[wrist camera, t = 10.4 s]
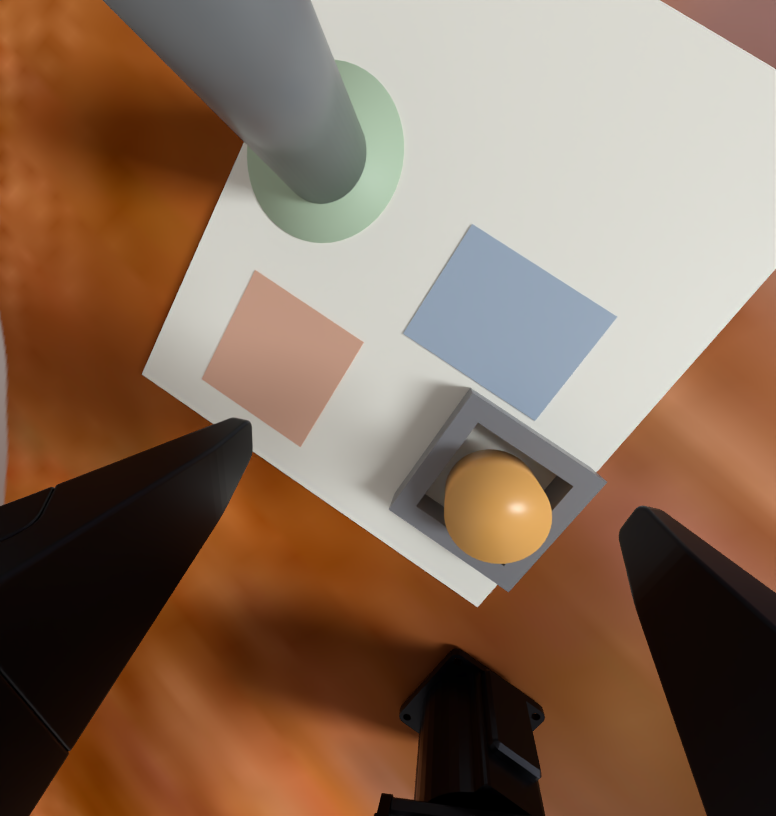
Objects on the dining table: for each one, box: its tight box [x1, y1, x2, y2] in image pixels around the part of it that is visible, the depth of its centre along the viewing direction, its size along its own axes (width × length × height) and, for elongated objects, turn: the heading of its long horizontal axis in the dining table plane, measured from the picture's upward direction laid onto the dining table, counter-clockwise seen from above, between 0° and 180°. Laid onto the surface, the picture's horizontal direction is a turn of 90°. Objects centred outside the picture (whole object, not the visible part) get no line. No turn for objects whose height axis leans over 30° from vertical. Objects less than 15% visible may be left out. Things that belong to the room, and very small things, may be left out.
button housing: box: [389, 388, 607, 592], centre depth 18 cm, size 7×7×2 cm
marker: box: [103, 0, 366, 204], centre depth 11 cm, size 5×5×14 cm
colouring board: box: [142, 0, 776, 607], centre depth 18 cm, size 27×24×1 cm
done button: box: [444, 449, 552, 564], centre depth 16 cm, size 4×4×2 cm
